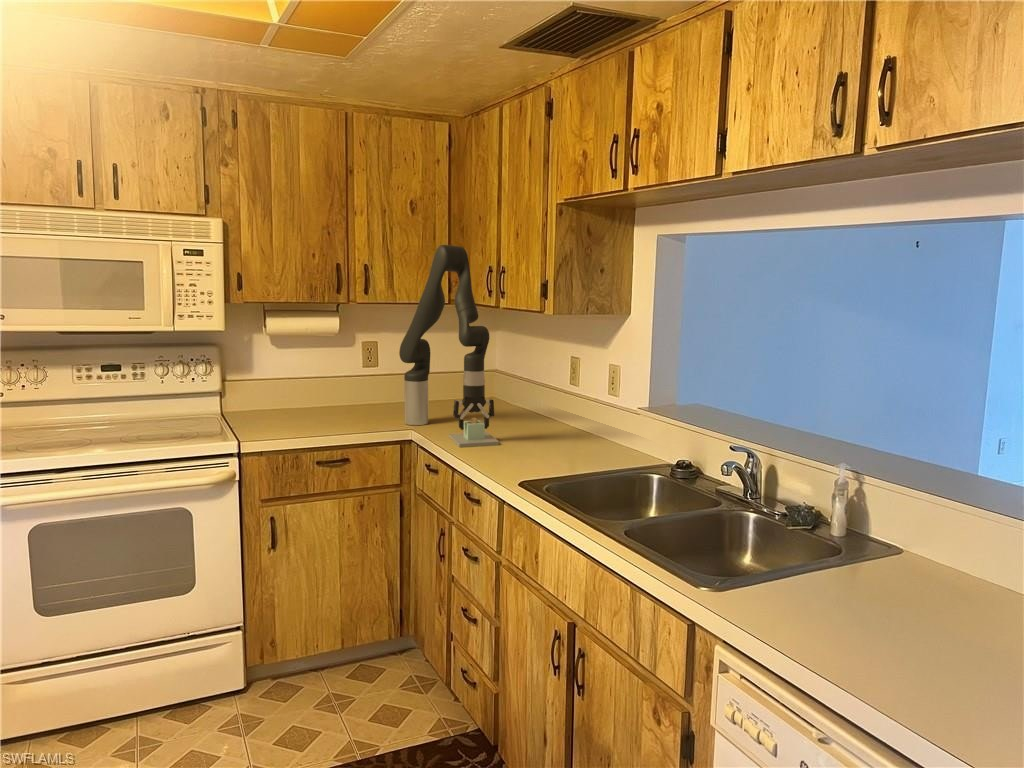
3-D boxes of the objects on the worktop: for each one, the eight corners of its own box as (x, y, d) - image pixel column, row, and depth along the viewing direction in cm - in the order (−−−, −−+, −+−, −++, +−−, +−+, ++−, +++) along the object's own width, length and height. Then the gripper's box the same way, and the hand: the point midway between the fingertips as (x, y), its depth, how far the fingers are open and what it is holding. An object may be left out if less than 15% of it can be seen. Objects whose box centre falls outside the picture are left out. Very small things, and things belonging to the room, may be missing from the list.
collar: (463, 436, 262) (463, 421, 261) (480, 435, 263) (480, 420, 263) (467, 440, 256) (467, 424, 255) (484, 439, 258) (484, 423, 257)
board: (449, 437, 265) (449, 414, 264) (487, 435, 269) (487, 413, 268) (459, 447, 250) (459, 423, 249) (499, 445, 254) (499, 421, 253)
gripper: (490, 381, 262) (490, 425, 265) (451, 382, 258) (451, 427, 261) (496, 384, 255) (496, 430, 258) (456, 385, 251) (456, 432, 254)
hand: (473, 428), depth 259 cm, fingers open, 8 cm apart
